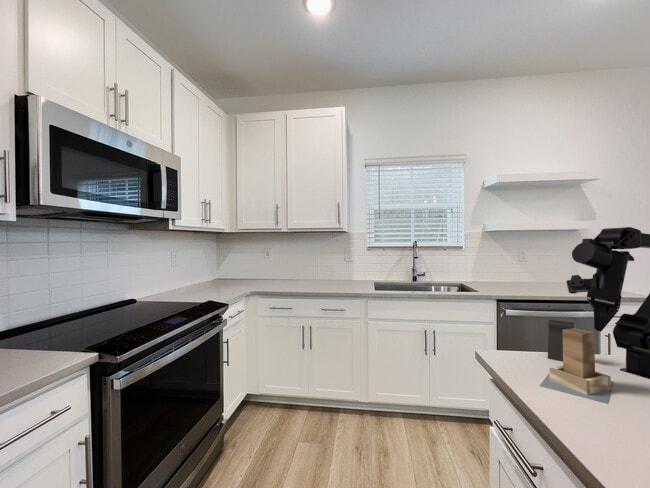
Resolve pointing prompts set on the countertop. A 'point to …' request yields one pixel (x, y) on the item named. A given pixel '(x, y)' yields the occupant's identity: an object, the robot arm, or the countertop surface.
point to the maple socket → (581, 381)
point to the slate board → (597, 396)
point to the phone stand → (557, 338)
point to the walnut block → (579, 353)
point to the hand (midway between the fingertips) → (597, 330)
